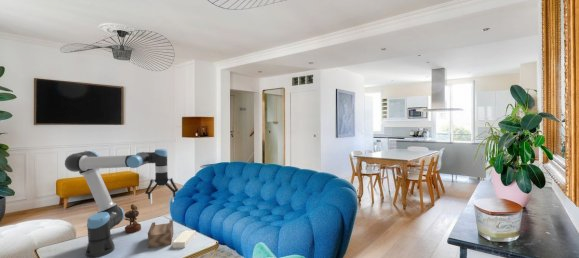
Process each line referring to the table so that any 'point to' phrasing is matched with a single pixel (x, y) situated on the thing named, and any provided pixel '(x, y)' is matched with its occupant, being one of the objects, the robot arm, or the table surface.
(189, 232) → the thick cream rectangular block
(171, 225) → the brown channel-shaped piece
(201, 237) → the table surface
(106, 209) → the robot arm
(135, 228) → the music box
